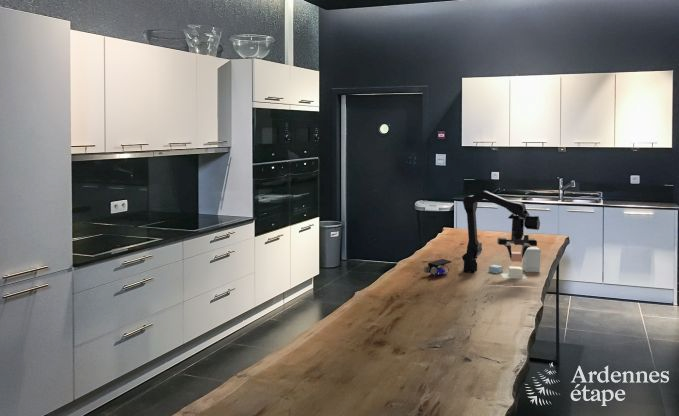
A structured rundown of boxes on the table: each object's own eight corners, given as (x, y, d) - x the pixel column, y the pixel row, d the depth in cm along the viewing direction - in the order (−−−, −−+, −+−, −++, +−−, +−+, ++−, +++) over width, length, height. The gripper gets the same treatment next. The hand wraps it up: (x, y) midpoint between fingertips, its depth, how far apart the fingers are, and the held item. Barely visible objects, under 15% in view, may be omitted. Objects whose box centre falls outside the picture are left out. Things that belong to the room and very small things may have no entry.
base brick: (510, 276, 335) (510, 269, 334) (508, 274, 341) (508, 266, 340) (522, 277, 334) (522, 269, 334) (520, 274, 340) (521, 266, 340)
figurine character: (433, 281, 333) (452, 273, 343) (433, 266, 331) (452, 259, 341) (423, 279, 338) (441, 271, 348) (422, 264, 336) (441, 257, 346)
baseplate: (502, 279, 332) (502, 277, 332) (500, 274, 342) (500, 273, 342) (527, 280, 331) (527, 278, 331) (524, 275, 341) (524, 274, 341)
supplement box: (539, 273, 347) (541, 249, 345) (525, 273, 347) (526, 249, 345) (536, 270, 354) (537, 246, 352) (521, 270, 354) (523, 246, 353)
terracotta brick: (510, 259, 339) (510, 251, 339) (520, 259, 339) (520, 252, 338) (511, 261, 334) (512, 253, 334) (521, 261, 334) (522, 254, 333)
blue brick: (488, 273, 346) (489, 266, 345) (494, 272, 349) (494, 264, 348) (497, 275, 342) (497, 267, 342) (502, 273, 345) (502, 266, 345)
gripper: (500, 230, 327) (499, 261, 329) (539, 231, 325) (538, 262, 328) (497, 226, 338) (496, 256, 340) (535, 227, 336) (534, 258, 339)
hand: (516, 258), depth 336 cm, fingers closed on terracotta brick, 5 cm apart
